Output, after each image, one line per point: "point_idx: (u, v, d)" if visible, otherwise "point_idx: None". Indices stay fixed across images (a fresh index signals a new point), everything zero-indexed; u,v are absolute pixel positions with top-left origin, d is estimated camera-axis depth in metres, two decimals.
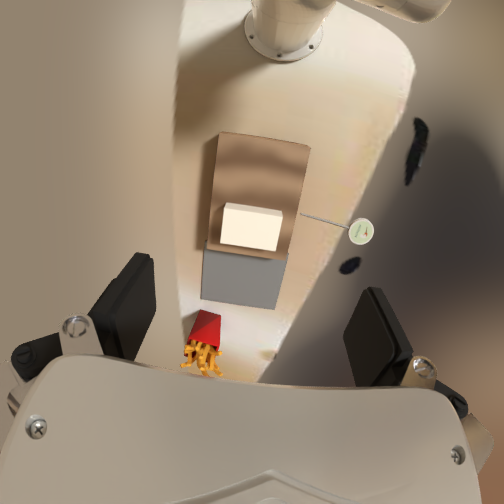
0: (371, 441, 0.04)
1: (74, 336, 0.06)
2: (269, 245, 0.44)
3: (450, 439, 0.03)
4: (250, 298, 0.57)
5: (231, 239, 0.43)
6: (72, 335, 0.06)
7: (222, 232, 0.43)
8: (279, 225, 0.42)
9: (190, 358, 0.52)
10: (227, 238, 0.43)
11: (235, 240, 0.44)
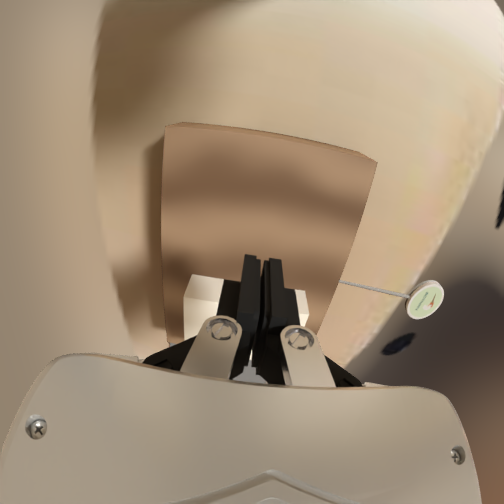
0: (371, 441, 0.04)
1: (215, 336, 0.08)
2: None
3: (450, 439, 0.03)
4: None
5: None
6: (213, 335, 0.08)
7: (186, 335, 0.21)
8: None
9: None
10: None
11: None
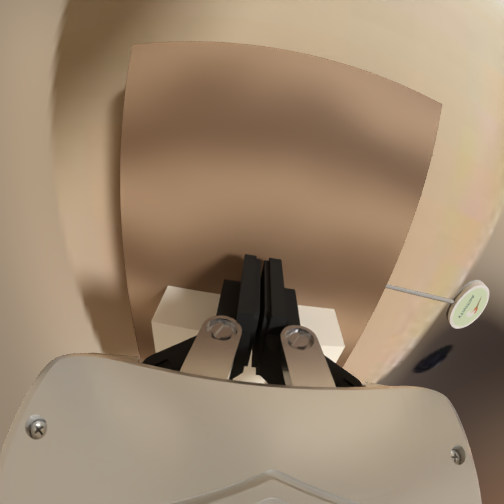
0: (371, 441, 0.04)
1: (215, 336, 0.08)
2: None
3: (450, 439, 0.03)
4: None
5: None
6: (213, 335, 0.08)
7: None
8: None
9: None
10: None
11: None
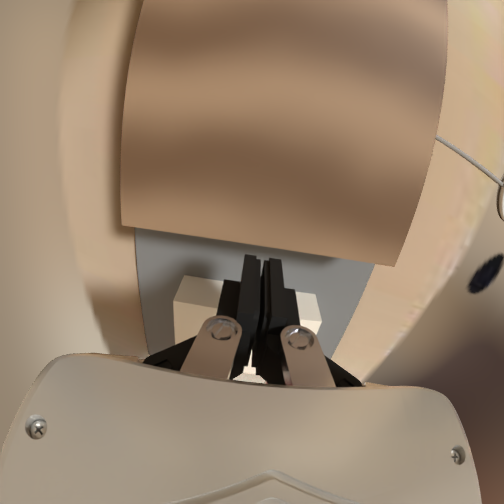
0: (371, 441, 0.04)
1: (215, 336, 0.08)
2: None
3: (450, 439, 0.03)
4: None
5: None
6: (213, 335, 0.08)
7: None
8: None
9: None
10: None
11: None
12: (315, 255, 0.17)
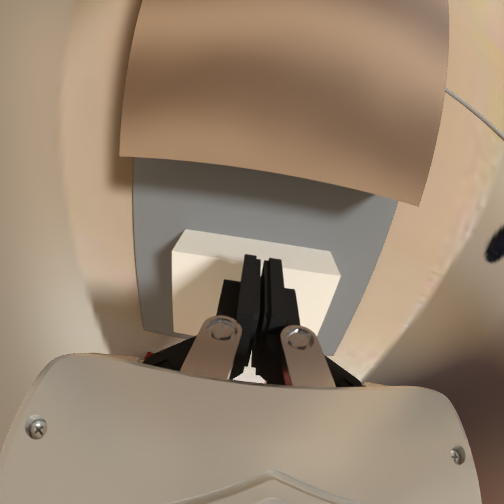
0: (371, 441, 0.04)
1: (215, 337, 0.08)
2: None
3: (450, 439, 0.03)
4: None
5: None
6: (213, 335, 0.08)
7: None
8: None
9: None
10: None
11: None
12: (330, 204, 0.15)
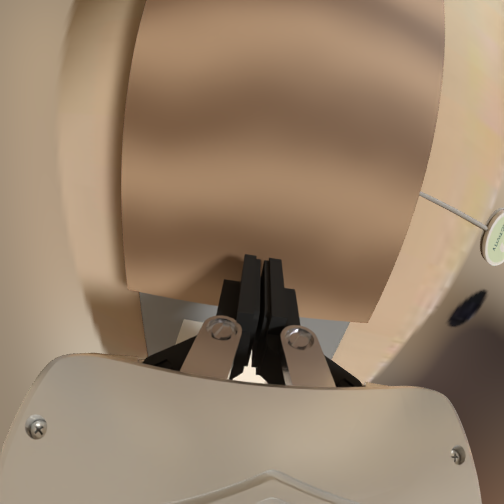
0: (371, 441, 0.04)
1: (215, 336, 0.08)
2: None
3: (450, 439, 0.03)
4: None
5: None
6: (213, 335, 0.08)
7: None
8: None
9: None
10: None
11: None
12: None
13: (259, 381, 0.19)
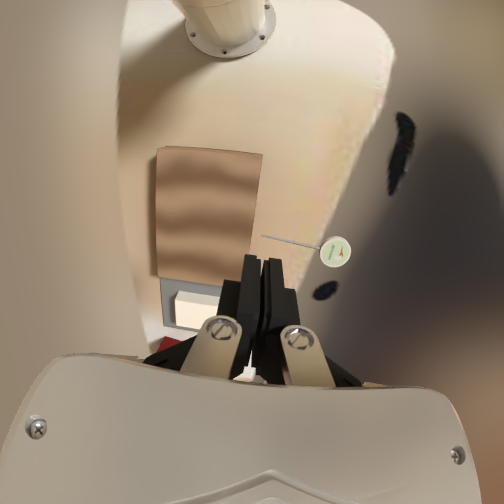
0: (371, 441, 0.04)
1: (215, 336, 0.08)
2: None
3: (450, 439, 0.03)
4: None
5: None
6: (213, 335, 0.08)
7: None
8: None
9: None
10: None
11: None
12: None
13: None
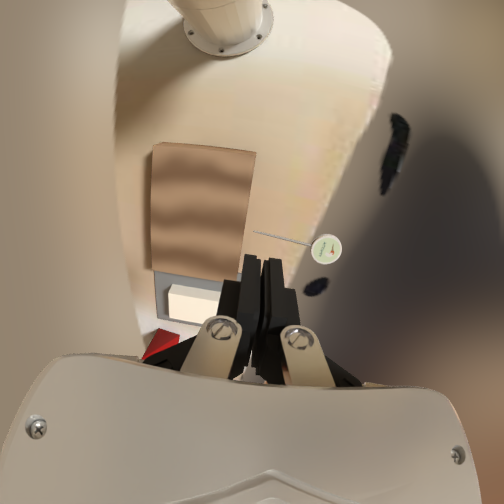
0: (371, 441, 0.04)
1: (215, 336, 0.08)
2: None
3: (450, 439, 0.03)
4: None
5: None
6: (213, 335, 0.08)
7: None
8: None
9: None
10: None
11: None
12: None
13: (202, 311, 0.47)
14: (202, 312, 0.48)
